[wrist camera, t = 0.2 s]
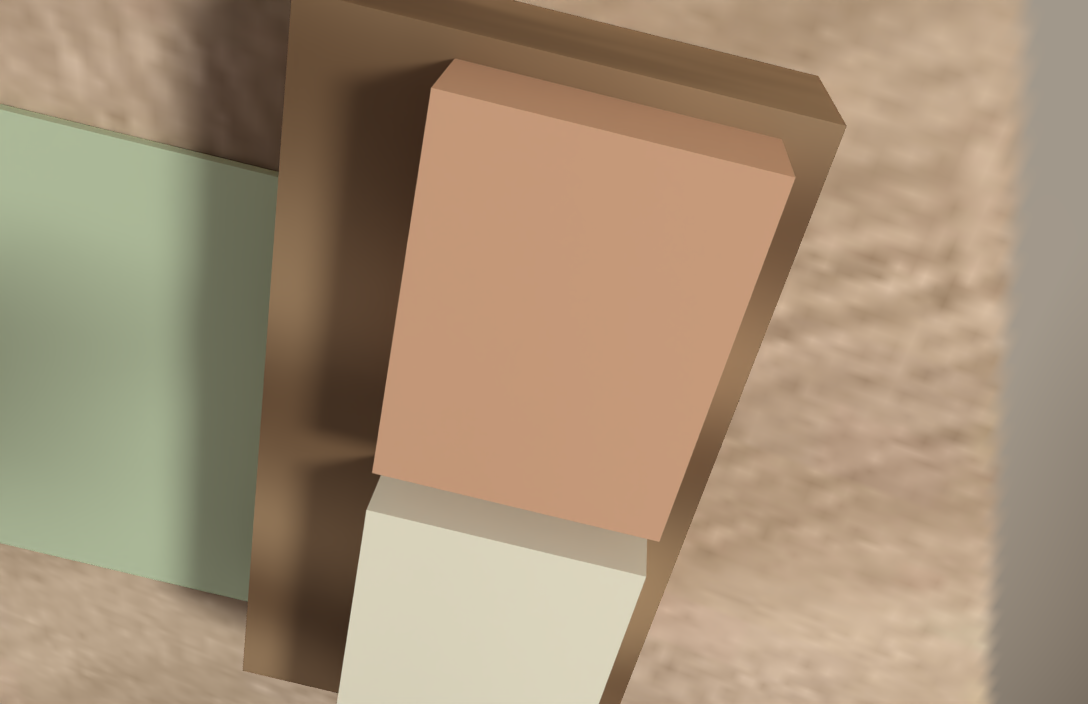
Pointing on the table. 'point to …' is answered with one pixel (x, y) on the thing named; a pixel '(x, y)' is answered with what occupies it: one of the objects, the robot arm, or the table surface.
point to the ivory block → (484, 602)
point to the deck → (378, 261)
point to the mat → (131, 350)
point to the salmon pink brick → (570, 295)
